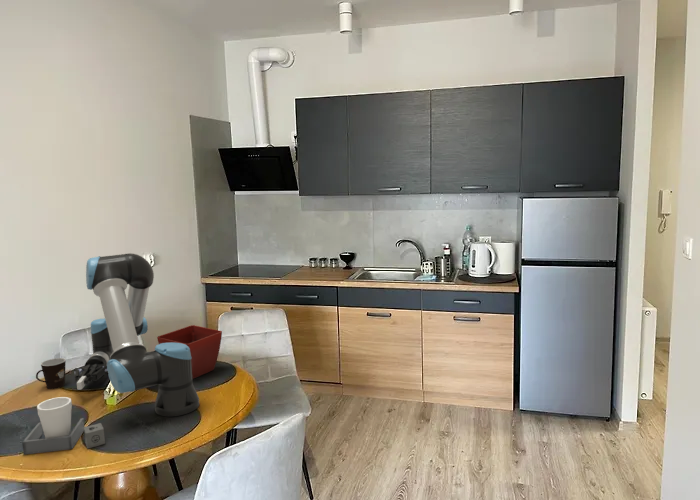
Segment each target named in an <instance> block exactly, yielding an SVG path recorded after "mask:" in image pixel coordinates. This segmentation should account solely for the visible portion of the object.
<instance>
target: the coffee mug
mask: <svg viewBox="0 0 700 500" xmlns="http://www.w3.org/2000/svg"><path fill="white" fill-rule="evenodd" d="M40 366H41V369H40V370H38V371H36V374H35V378H36V380H37V381H39V382H41V383H45V385H46V388H47V389H48V390H56V389H60V388H63V387H65V385H66V358H62V357H60V358H59V357H56V358H51V359H47V360H44V361H43V362H41V363H40ZM41 372H42V374H43V378H44V380H43V379H40V378H39V374H40V373H41Z"/></svg>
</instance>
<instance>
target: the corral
mask: <svg viewBox="0 0 700 500" xmlns="http://www.w3.org/2000/svg"><path fill="white" fill-rule="evenodd" d="M83 427H85V420H84V417H80V418H79V420H78V421H77V423H76V425H75V427H73V429H72V430H71V431H70V435H69V436H63V437H54V438H45V437H44V438H41V436H42V435H43V428H42V425H41V422H38V423H37V424H36V425H35V427H33V428H32V430H31V431H30V432H29V434H27V436H26V437H25V438H24V440H23V441H22V443H21V444H22V451H23V455H33V454H40V453H49V452H59V451H67V450H73V448H74V447H75V445H77V443H78V440H80V438H81V436H82V435H83V434H84V428H83Z"/></svg>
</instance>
